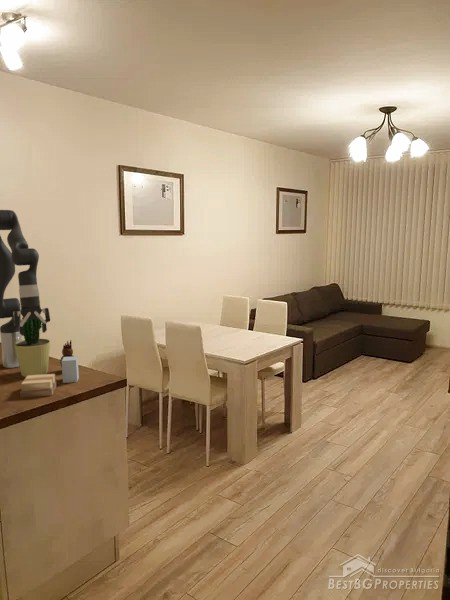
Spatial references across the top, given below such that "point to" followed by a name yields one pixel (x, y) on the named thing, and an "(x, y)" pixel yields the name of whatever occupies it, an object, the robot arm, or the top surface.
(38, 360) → the potted cactus
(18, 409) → the top surface
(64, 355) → the wooden figurine
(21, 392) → the tower base
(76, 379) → the block
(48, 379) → the tower top
